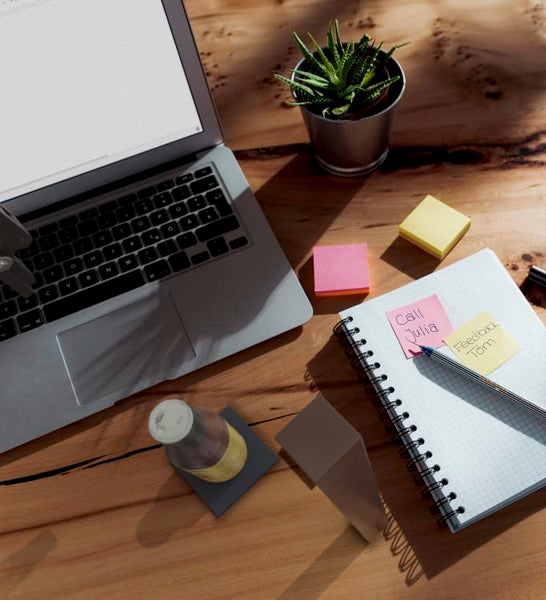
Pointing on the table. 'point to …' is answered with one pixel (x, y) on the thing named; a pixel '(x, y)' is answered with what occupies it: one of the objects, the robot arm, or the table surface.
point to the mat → (255, 467)
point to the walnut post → (336, 464)
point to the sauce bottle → (198, 440)
